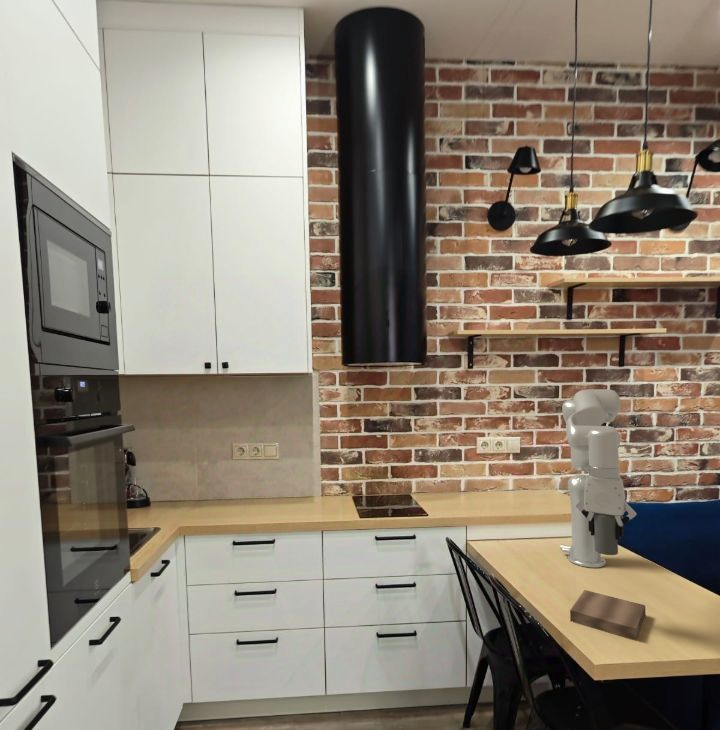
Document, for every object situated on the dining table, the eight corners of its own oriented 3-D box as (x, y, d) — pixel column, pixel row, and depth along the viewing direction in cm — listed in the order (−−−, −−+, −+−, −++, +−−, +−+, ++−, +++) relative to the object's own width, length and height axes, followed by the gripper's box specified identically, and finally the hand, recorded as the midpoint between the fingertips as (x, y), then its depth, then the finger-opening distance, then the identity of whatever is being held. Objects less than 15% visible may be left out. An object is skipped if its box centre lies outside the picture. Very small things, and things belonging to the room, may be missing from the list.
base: (570, 621, 129) (570, 610, 129) (584, 599, 142) (584, 589, 142) (636, 640, 119) (636, 628, 119) (645, 616, 132) (645, 605, 132)
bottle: (591, 547, 134) (589, 495, 135) (611, 547, 134) (609, 495, 135) (600, 555, 128) (599, 500, 129) (622, 555, 128) (620, 500, 129)
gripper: (568, 471, 135) (570, 534, 134) (636, 478, 124) (638, 547, 123) (575, 467, 140) (576, 527, 140) (641, 474, 130) (643, 539, 129)
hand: (605, 536), depth 131 cm, fingers closed on bottle, 5 cm apart
